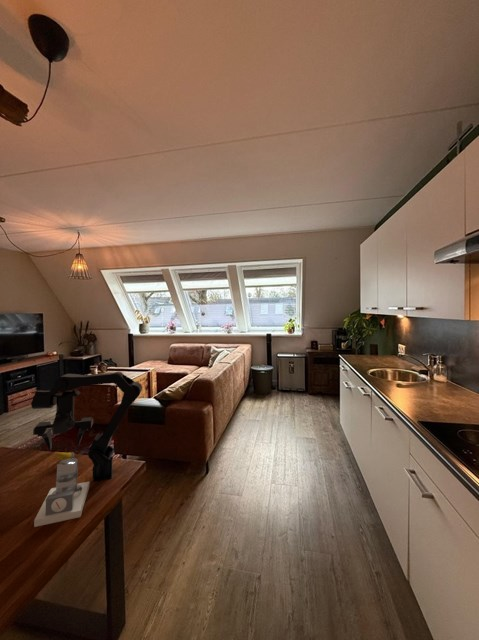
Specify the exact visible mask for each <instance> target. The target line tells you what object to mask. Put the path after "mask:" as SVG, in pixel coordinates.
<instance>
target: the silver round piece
mask: <svg viewBox="0 0 479 640" xmlns="http://www.w3.org/2000/svg"><path fill="white" fill-rule="evenodd" d="M55 480H56V481H55V488H56V494H58V493H63V492H69V491H74V493H75V492H76V490H77V484H78V476H77V477H76V478H75V479H73V480H71V481H68V482H63V483H60V482H57V478H56V479H55Z"/></svg>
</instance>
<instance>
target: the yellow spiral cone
mask: <svg viewBox="0 0 479 640" xmlns="http://www.w3.org/2000/svg"><path fill="white" fill-rule="evenodd" d="M54 454H55V455H56V456H57V458H58V459H59V462H61V461H63V460H65V459H69V458H75V453H74V452H73V451H69V452H63V451H62V452H59V451H54Z"/></svg>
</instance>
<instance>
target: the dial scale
mask: <svg viewBox="0 0 479 640" xmlns="http://www.w3.org/2000/svg"><path fill="white" fill-rule="evenodd" d="M90 483H91V482H90V481H84V482H77V490H76V492H75V493H74V491H69V492H63V493H58V494H56V487H52V488H50V490H49V491H48V494H47V496H46V497H45V499H44V501H43V503H42V505H41V507H40V509H39V511H38V512H37V515H36V516H35V518H34V520H33V521H34V523H33V524H34V525H33V527H34V528H36V527H41V526H44V525H50V524H54V523H55V524H56V523H59V522H63V521H67V520H72V519H77V518H82V517H81V516H82V512H83V509H84V506H85V502H86V499H87V497H88V493H89V489H90Z"/></svg>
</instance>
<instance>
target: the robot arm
mask: <svg viewBox="0 0 479 640" xmlns="http://www.w3.org/2000/svg"><path fill="white" fill-rule="evenodd" d="M105 384H106V385H107V384H114V385H116V387H117V388H118V389H119V390H120V391H121V392H123V395H122V397H121V402H120V404H119V406H118V407H117V409H116V411H115V413H114V414H113V415H112V417H111V419H110V421H109V422H108V424H107V426H106V428H105V429H104V430H103V431H102V433H101V434H100V433H97V434H96V436H95V437H94V439H93V441H92V443H91V444H90V446H88V448H87V450H88V452H87V456H88V458H89V459H90V460H91V462H92V464H93V466H92V475H91V476H92V478H93V479H92V481H93V482H98V481H99V482H100V481H105V480H111V479H112V478H113V474H114V467H113V466H114V465H113V463H114V462H113V461H114V457H113V454H114V452H115V448H113V447H112V446H111V445H110V444H111V442H112V441H111V440H112V438H113V435H114V434H115V432H116V430H117V429H118V427H119V425H120V423H121V422H122V420H123V418H124V416H125V414H126V413H127V411H128V409H130V406H132V405H133V404H134V402H135V401H136V400H137V399H138V398H139V396H140V394H141V393H142V391H143V384H141V383H140V382H138V381H135V380H133V379H132V378H130V377H128V376H127V375H126V374H124V373H123V372H121V371H115V372H105V373H104V372H103V373H95V374H77V373H65V374H64V375H62V376H59V377H57V379H56V380H54V386H53V387H52V388H51V389H50V390H37V391H35V392H34V396H33V397H32V400H31V408H32V410H43V409H53V407H54V406H55V407H56V408H55V409H56V412H55V417H54V420H53V422H52V423H51V421H40V422H39V423H37V424H36V426H35V427H33V429H32V430H33V431H32V436H37V437H38V438H39V437H41V438H42V439H43V440H44V442H45V444H46V446H47V449H48V450H49V451H51V450H52V447H53V438H52V437H53V436H52V435H55V436H56V435H57V434H58V435H59V434H66V433H68V431H69V430H70V429H74V428H75V427H79V430H78V434H77V443H76V444H77V447H80V443H81V440H82V438H83V435H84V433H85V432H87V431H88V430H89V429H92V427H93V425H94V418H93V417H92V416H89V417H82V418H81V420H80V421H79V420H77V421H76V420H75V397H78V396H79V395H80V394H81V391H79V390H78V389H77V388H81V387H86V386H96V385H105ZM60 392H62V393H60Z"/></svg>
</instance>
